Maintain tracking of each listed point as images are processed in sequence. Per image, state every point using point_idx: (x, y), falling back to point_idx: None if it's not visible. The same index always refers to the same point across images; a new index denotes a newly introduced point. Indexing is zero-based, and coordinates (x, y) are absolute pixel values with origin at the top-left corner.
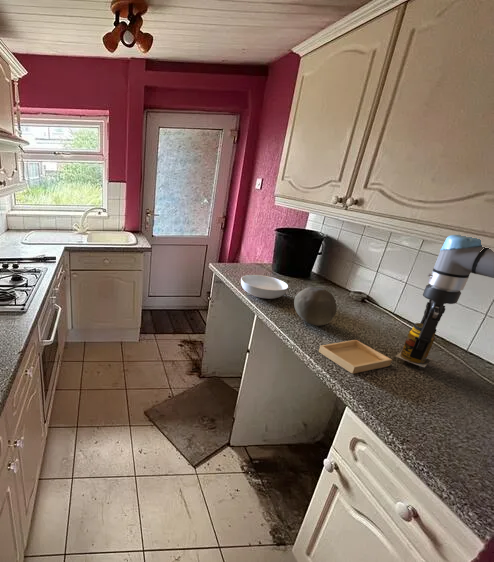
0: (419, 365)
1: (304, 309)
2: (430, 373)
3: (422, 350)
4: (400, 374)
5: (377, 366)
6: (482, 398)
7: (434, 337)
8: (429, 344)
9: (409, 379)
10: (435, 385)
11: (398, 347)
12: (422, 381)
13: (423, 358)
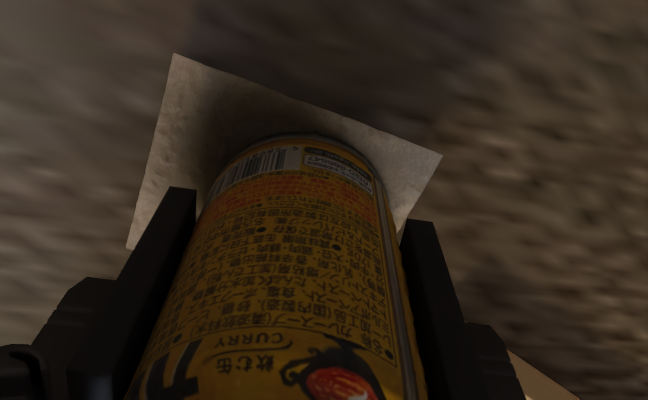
0: (420, 184)
1: None
2: (389, 62)
3: (500, 339)
4: (543, 263)
5: (548, 387)
6: None
7: (295, 379)
8: (398, 332)
9: (593, 221)
10: (604, 61)
11: (35, 231)
12: (581, 144)
13: (377, 198)
